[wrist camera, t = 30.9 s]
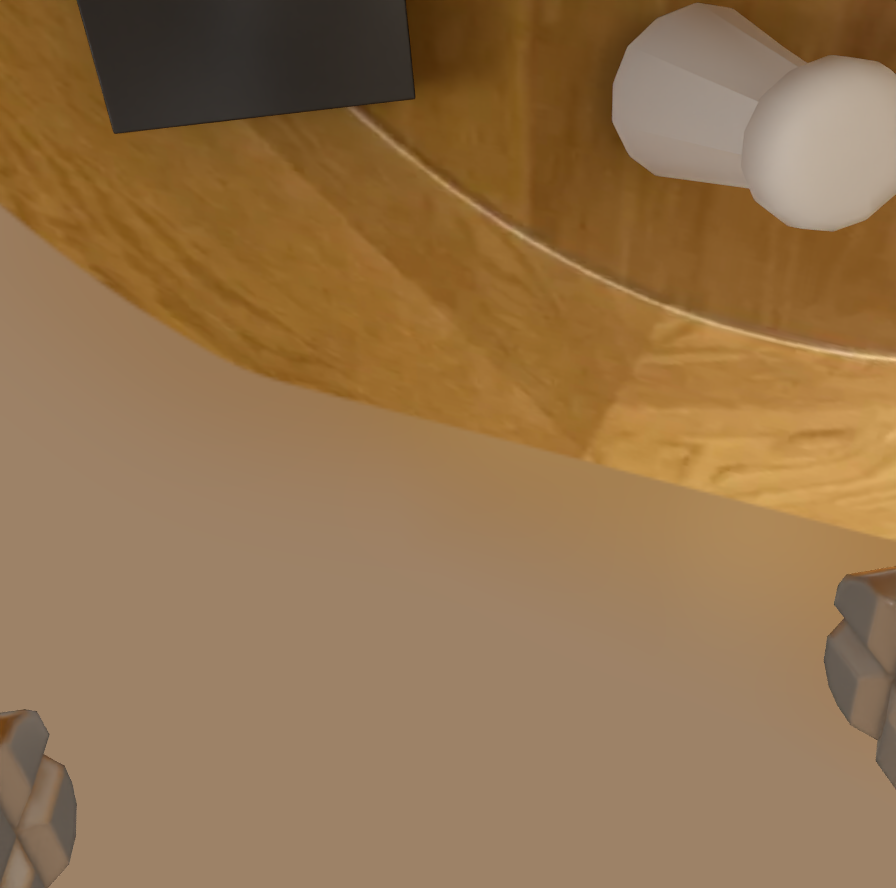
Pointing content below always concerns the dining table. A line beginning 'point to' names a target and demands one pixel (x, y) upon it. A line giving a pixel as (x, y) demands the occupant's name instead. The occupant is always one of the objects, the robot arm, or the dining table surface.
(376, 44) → the black dial panel
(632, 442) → the dining table surface
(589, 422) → the dining table surface
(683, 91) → the salt shaker
